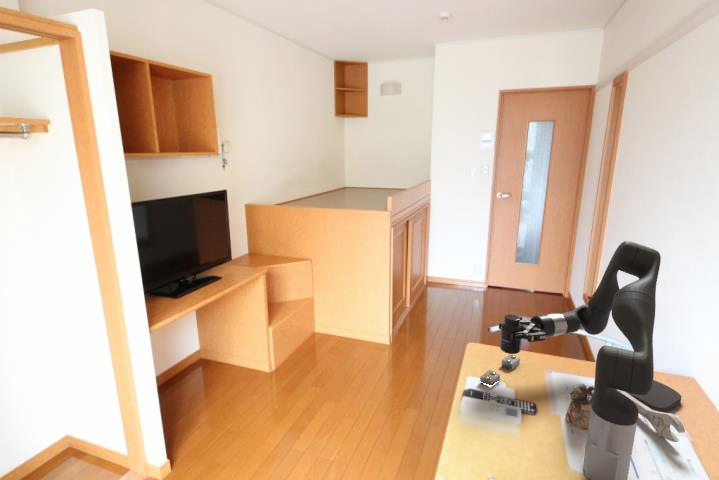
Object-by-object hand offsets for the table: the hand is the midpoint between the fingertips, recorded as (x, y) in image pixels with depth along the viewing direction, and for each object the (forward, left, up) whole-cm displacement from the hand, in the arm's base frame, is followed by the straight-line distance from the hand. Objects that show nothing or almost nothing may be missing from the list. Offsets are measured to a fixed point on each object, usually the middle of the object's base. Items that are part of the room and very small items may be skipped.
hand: (505, 331), depth 133 cm
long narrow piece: (+3, +2, -18) cm, 18 cm away
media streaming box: (+24, -37, -18) cm, 48 cm away
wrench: (+11, -37, -18) cm, 42 cm away
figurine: (-4, -26, -18) cm, 32 cm away
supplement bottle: (+2, -1, -7) cm, 8 cm away
